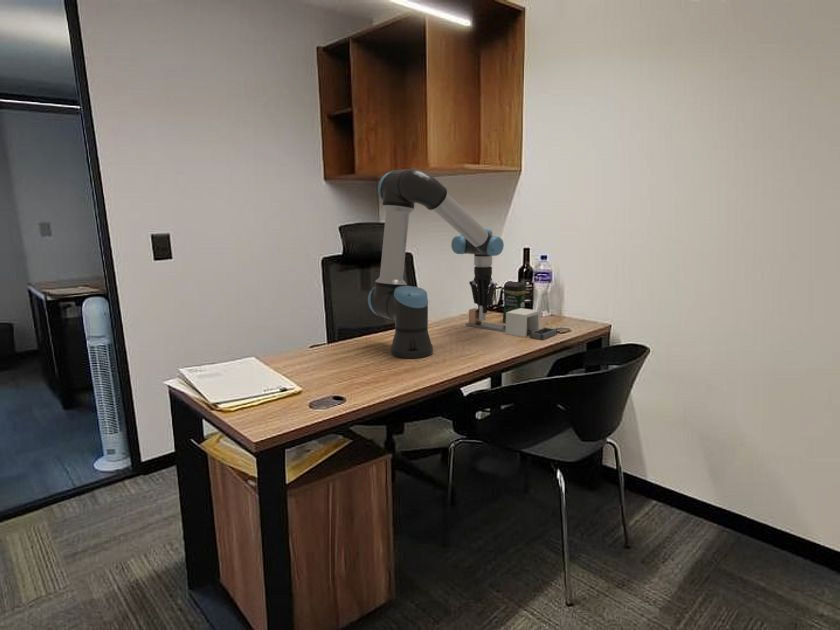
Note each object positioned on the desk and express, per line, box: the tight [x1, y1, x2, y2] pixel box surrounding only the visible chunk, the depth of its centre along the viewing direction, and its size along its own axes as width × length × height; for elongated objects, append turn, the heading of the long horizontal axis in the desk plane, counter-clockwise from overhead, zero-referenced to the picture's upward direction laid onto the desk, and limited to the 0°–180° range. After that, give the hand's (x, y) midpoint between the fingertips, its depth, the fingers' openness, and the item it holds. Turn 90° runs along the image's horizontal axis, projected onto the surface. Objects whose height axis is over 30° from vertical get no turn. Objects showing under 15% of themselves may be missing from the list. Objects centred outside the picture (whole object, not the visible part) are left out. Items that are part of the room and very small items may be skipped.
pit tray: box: [529, 327, 558, 341], centre depth 205 cm, size 12×6×2 cm, turn 139°
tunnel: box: [505, 308, 541, 338], centre depth 211 cm, size 11×9×9 cm
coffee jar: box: [502, 281, 527, 324], centre depth 229 cm, size 10×8×19 cm
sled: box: [465, 307, 531, 334], centre depth 219 cm, size 7×28×7 cm, turn 49°
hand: (482, 320), depth 224 cm, fingers closed
